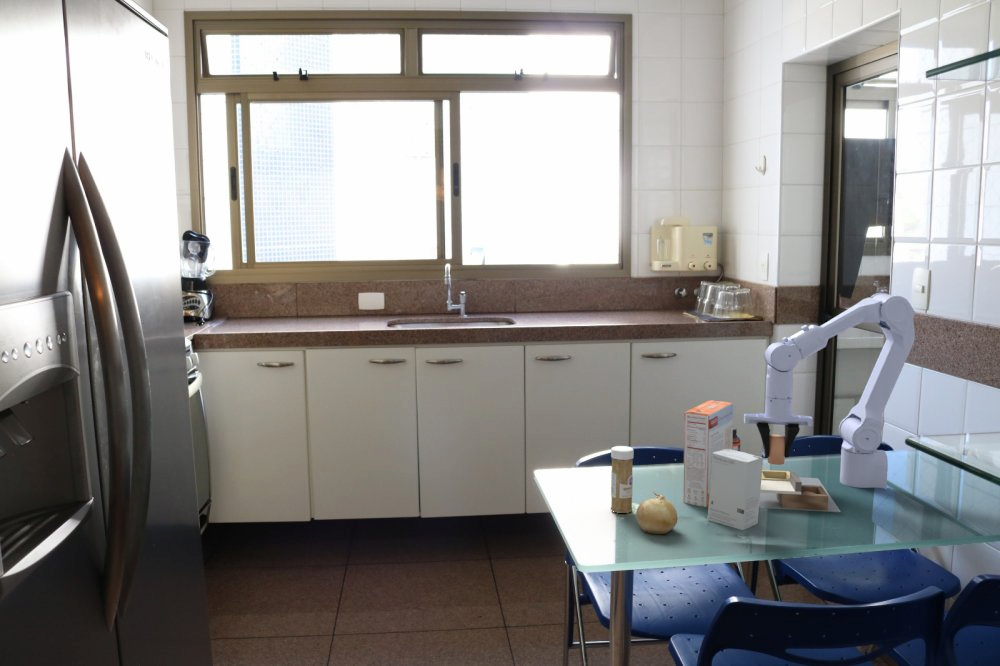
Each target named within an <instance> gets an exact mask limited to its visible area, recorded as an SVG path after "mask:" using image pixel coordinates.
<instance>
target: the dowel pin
mask: <svg viewBox="0 0 1000 666" xmlns="http://www.w3.org/2000/svg"><path fill="white" fill-rule="evenodd" d="M785 441H786V437H785V435H782V434H770V436H769V457H767V463H769V464H771V465H776V466H777V465H778V466H781V465H785V463H786V462H785V460H786V459H785V458H786V457H785Z"/></svg>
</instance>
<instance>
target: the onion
mask: <svg viewBox="0 0 1000 666" xmlns="http://www.w3.org/2000/svg"><path fill="white" fill-rule="evenodd" d="M653 494H654V495H655V497H653V498H652V497H651V498H648V499H645V500H644V501H642V502H641V503H640V504H639V505H638V507H637V508H636V512H635V517H636V521H637V523H638V525H639V526H640V528H641V530H642V531H643V532H644V533H647V534H652V535H665V534H668V533H669V532H670V531H672V530H673V529H674V528H675V527H676V525H677V524H678V517H679V516H678V512H677V510H676V508H675V506H674V505H673V504H672V502H671V501H669V500H668V499H667V498H666V497H665V496H664V495H663V494H661V493H659V494H657V493H656V492H655V491H653Z"/></svg>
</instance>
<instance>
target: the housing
mask: <svg viewBox="0 0 1000 666" xmlns="http://www.w3.org/2000/svg"><path fill="white" fill-rule="evenodd" d="M776 498H777V500H778V502H779V504H780V506H781V508H789V509H808V510H828V495H827V494H826V492H825V491H824V489H823V488H822V486H816V485H802V487H801V495H800V494H779V493H777V494H776ZM808 510H807V511H808Z"/></svg>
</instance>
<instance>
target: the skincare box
mask: <svg viewBox="0 0 1000 666" xmlns="http://www.w3.org/2000/svg"><path fill="white" fill-rule="evenodd" d="M763 463H764V457H761V456H759V455H758V456H757V455H755V454H751V453H747V452H744V451H741V450H740V451H736V450H731V449H724V450H721V451H717V452H714V453H713V457H712V469H711V481H710V494H709V506H708V508H707V509H708V510H707V520H706V521H707V525H708V526H709V521H711V522H713V523H717V524H720V525H724V526H728V527H731V528H734V529H737V530H740V531H744V530H746V529H749V528H751V527H754V526H755V525H757V524H759V523H758V521H759V513H760V512H759V511H760V508H759V502H760V490H761V478H762V470H763V465H764V464H763Z"/></svg>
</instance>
